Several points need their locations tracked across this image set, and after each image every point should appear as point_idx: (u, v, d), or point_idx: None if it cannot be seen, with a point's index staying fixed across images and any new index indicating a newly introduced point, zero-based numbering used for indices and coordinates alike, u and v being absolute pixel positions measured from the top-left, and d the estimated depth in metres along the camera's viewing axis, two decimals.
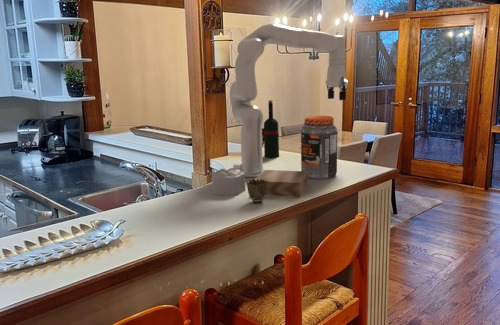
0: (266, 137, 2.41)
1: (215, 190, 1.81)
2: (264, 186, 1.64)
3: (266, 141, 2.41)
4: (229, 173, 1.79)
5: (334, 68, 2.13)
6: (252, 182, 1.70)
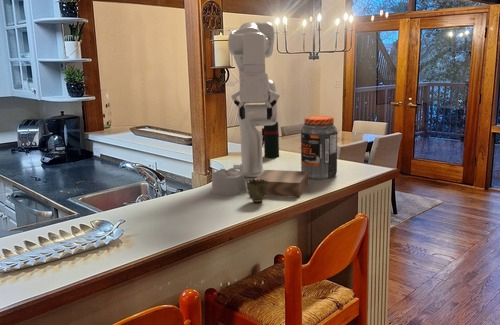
0: (266, 137, 2.41)
1: (215, 190, 1.81)
2: (264, 186, 1.64)
3: (266, 141, 2.41)
4: (229, 173, 1.79)
5: (258, 76, 1.56)
6: (252, 182, 1.70)
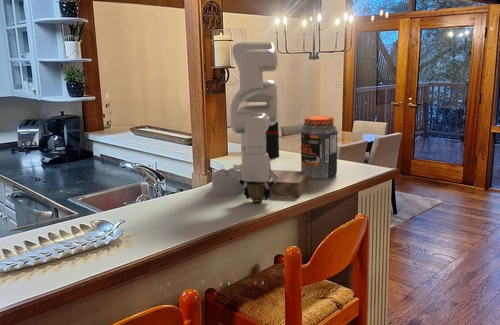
0: (266, 137, 2.41)
1: (215, 190, 1.81)
2: (264, 186, 1.64)
3: (266, 141, 2.41)
4: (229, 173, 1.79)
5: (260, 158, 1.61)
6: (252, 182, 1.70)
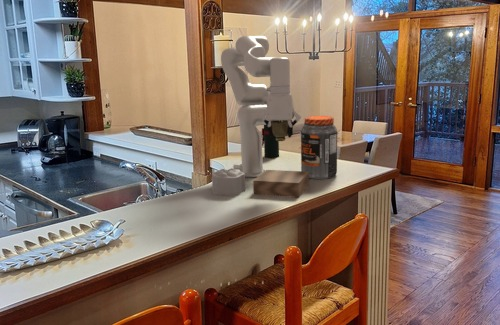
0: (266, 137, 2.41)
1: (215, 190, 1.81)
2: (287, 124, 1.76)
3: (266, 141, 2.41)
4: (229, 173, 1.79)
5: (284, 97, 1.72)
6: (275, 122, 1.81)
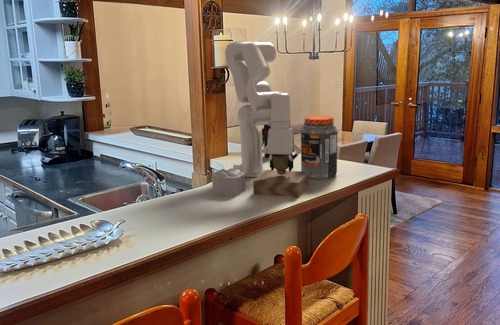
0: (266, 137, 2.41)
1: (215, 190, 1.81)
2: (288, 158, 1.78)
3: (266, 141, 2.41)
4: (229, 173, 1.79)
5: (284, 132, 1.75)
6: (276, 155, 1.84)
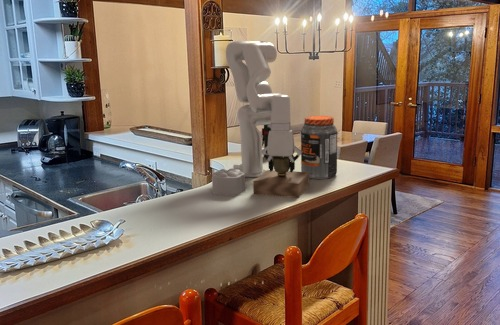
0: (266, 137, 2.41)
1: (215, 190, 1.81)
2: (288, 161, 1.79)
3: (266, 141, 2.41)
4: (230, 173, 1.79)
5: (285, 134, 1.75)
6: (277, 158, 1.84)
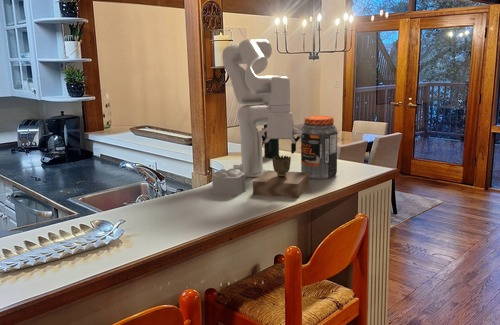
0: None
1: (216, 191, 1.80)
2: (288, 161, 1.78)
3: None
4: (230, 173, 1.78)
5: (284, 116, 1.74)
6: (277, 158, 1.83)
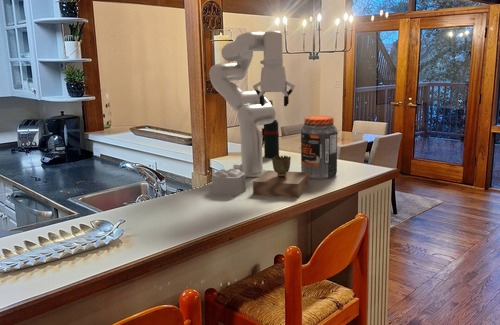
0: (266, 137, 2.41)
1: (216, 191, 1.80)
2: (288, 161, 1.78)
3: (266, 141, 2.41)
4: (230, 174, 1.78)
5: (277, 69, 1.81)
6: (277, 158, 1.83)
